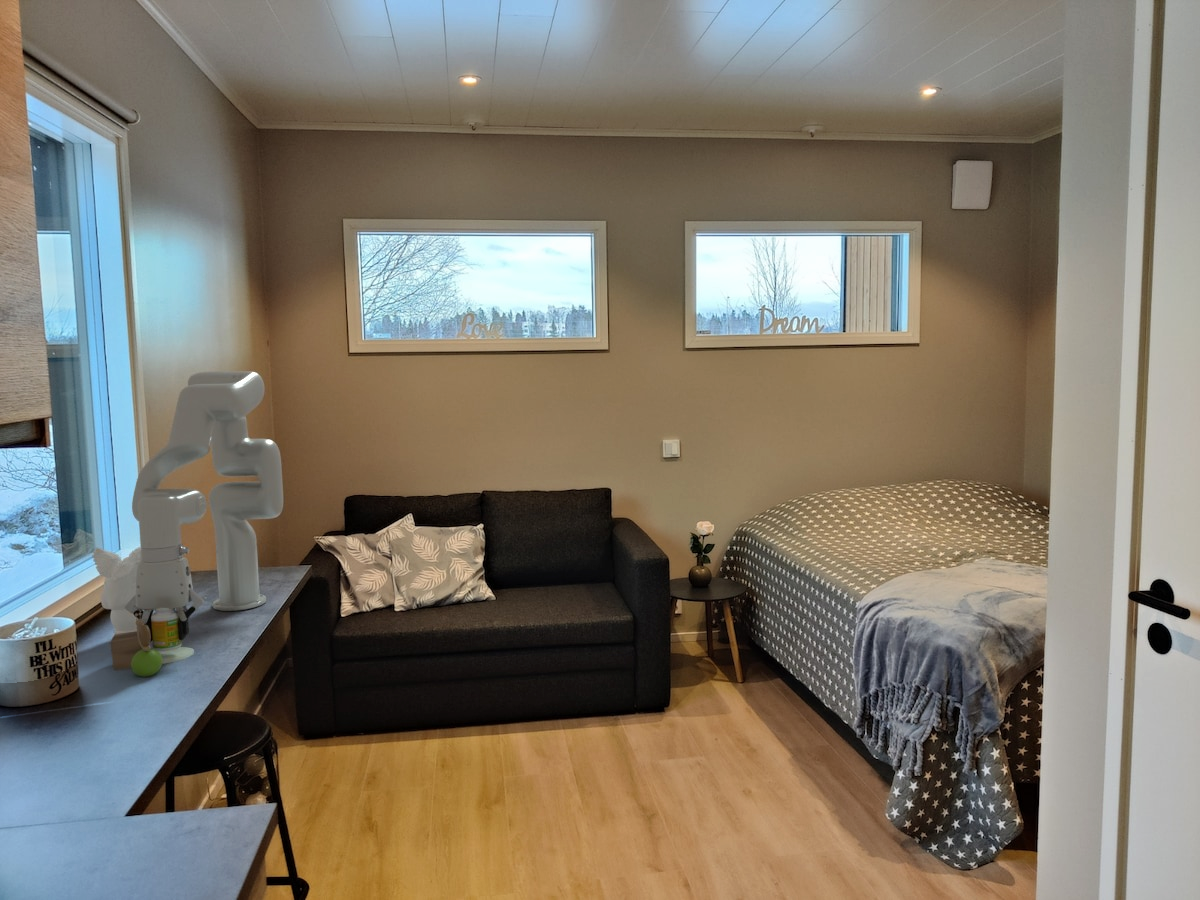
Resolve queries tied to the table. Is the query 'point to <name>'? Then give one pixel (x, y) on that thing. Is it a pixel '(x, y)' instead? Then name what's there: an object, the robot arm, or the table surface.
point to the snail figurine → (145, 653)
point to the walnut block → (124, 649)
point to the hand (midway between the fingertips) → (167, 638)
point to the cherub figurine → (118, 586)
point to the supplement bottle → (165, 629)
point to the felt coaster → (176, 654)
